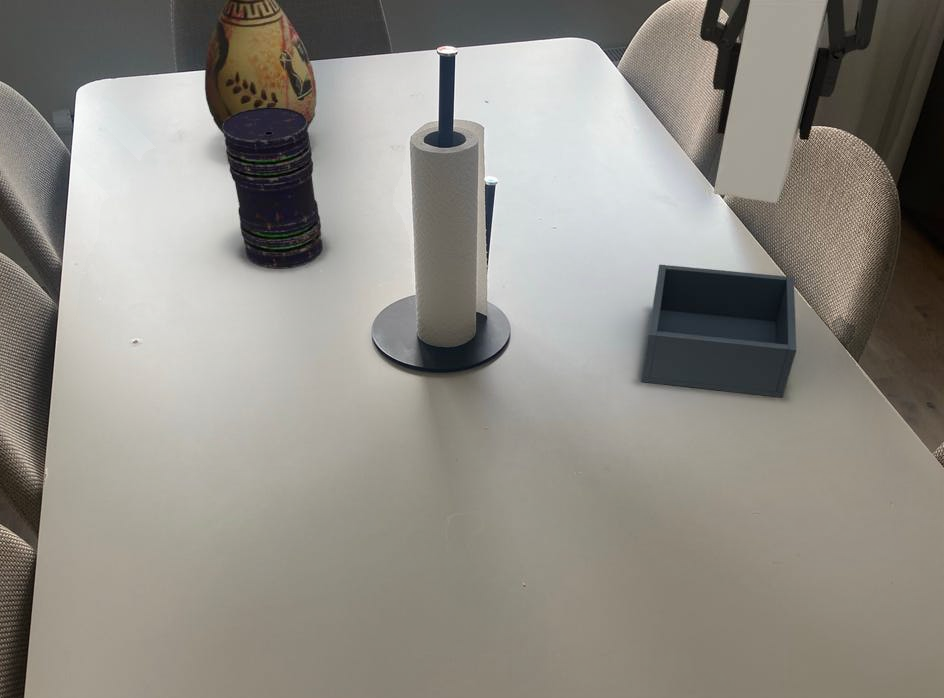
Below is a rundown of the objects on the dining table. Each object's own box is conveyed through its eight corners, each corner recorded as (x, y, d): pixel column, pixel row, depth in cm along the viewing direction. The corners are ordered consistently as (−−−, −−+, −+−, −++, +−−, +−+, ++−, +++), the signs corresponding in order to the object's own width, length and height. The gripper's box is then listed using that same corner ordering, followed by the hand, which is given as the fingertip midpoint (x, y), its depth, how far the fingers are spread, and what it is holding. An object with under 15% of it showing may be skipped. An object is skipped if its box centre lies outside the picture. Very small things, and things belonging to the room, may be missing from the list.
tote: (781, 323, 107) (794, 276, 103) (782, 397, 98) (796, 349, 93) (652, 310, 109) (659, 264, 105) (641, 381, 100) (648, 334, 96)
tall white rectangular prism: (776, 205, 87) (849, -91, 70) (711, 194, 89) (768, -98, 72) (787, 177, 91) (858, -110, 74) (724, 167, 92) (780, -116, 75)
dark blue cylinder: (240, 236, 122) (216, 112, 110) (315, 226, 123) (300, 102, 112) (251, 274, 115) (226, 146, 104) (330, 262, 117) (314, 135, 106)
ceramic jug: (317, 173, 134) (285, -88, 111) (208, 173, 134) (155, -87, 111) (329, 125, 145) (302, -122, 122) (229, 125, 145) (184, -121, 122)
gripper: (697, -201, 67) (651, 139, 85) (985, -194, 65) (876, 156, 82) (702, -218, 72) (657, 107, 90) (970, -212, 69) (870, 122, 87)
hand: (762, 130), depth 86 cm, fingers closed on tall white rectangular prism, 7 cm apart
